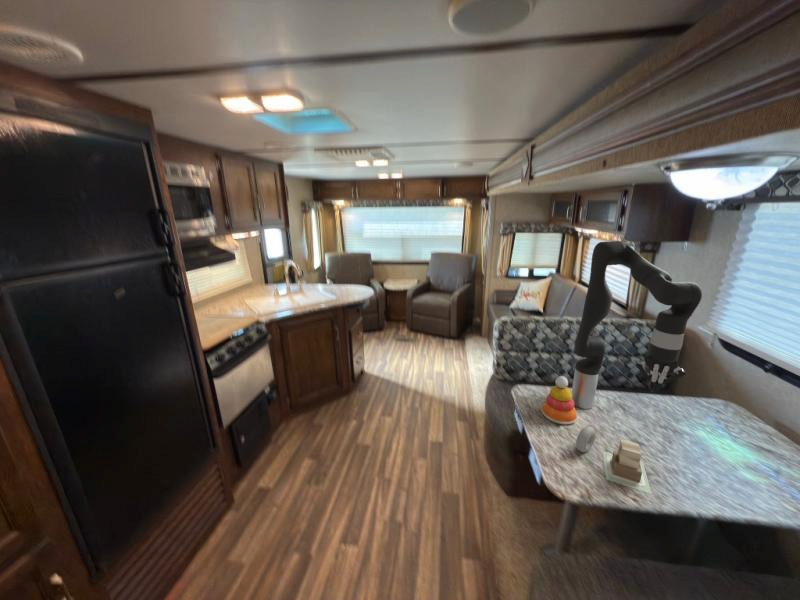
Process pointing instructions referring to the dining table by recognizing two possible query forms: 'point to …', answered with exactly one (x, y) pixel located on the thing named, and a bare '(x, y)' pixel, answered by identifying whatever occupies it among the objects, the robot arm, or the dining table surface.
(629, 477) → the walnut block
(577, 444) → the donut
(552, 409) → the stacking toy
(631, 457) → the maple block
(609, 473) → the build board
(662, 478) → the dining table surface
